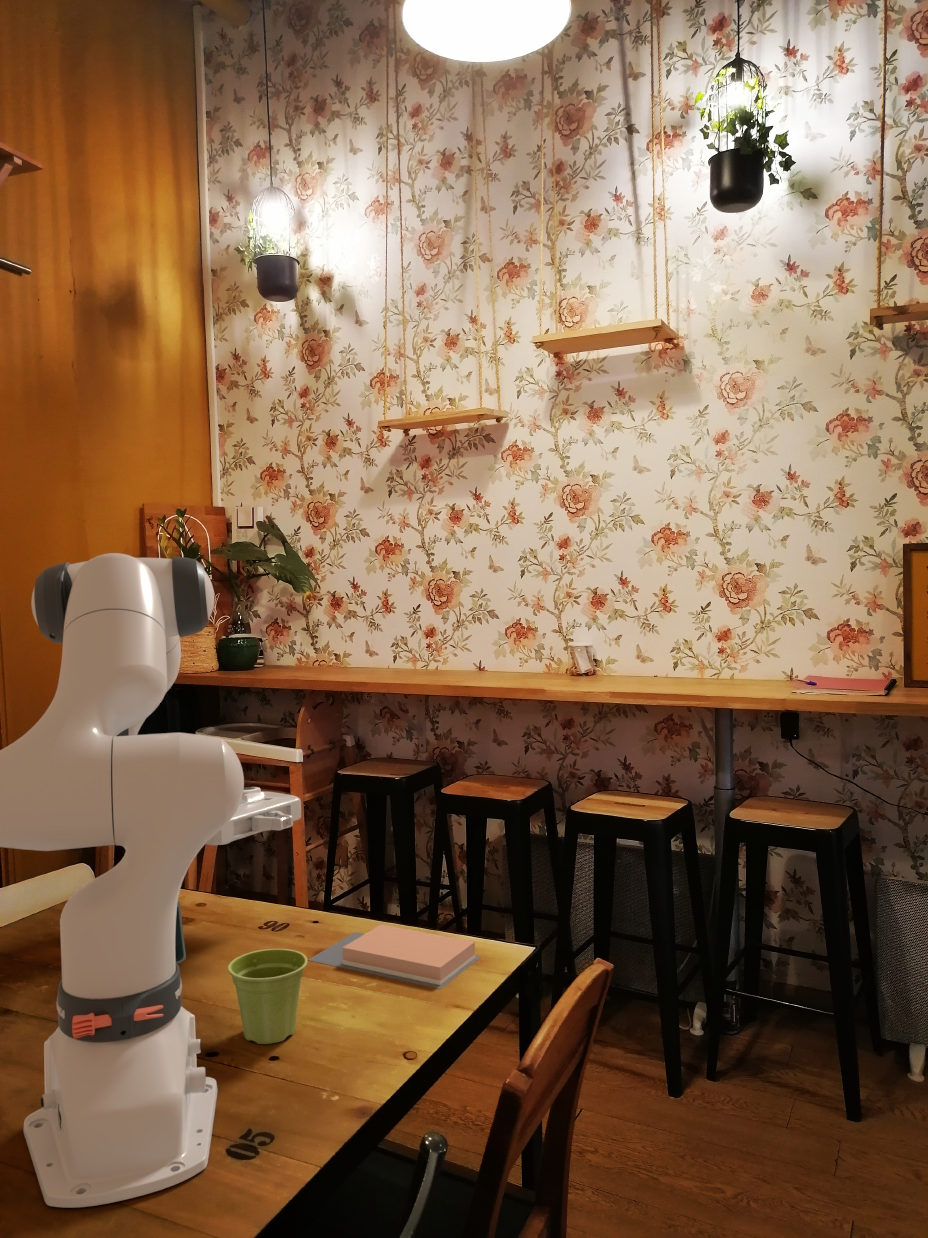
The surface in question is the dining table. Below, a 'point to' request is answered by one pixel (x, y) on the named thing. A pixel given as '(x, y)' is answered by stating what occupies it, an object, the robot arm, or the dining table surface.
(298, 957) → the plant pot
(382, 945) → the tile
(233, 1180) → the dining table surface
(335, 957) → the mat
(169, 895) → the robot arm
